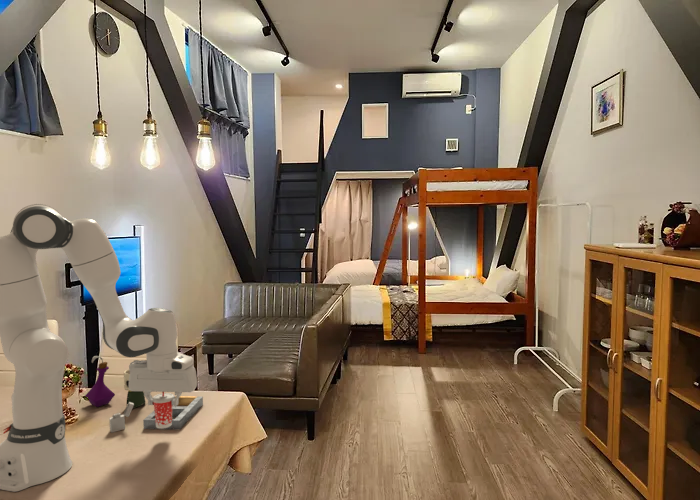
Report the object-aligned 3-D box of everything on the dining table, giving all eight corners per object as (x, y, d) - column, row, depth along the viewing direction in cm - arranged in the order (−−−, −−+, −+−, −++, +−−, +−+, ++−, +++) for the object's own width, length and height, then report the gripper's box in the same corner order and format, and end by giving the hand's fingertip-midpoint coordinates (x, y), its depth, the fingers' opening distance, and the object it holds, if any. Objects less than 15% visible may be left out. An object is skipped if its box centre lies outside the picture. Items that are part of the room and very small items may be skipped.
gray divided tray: (143, 428, 151) (143, 419, 151) (170, 404, 171) (170, 396, 170) (179, 429, 150) (179, 420, 150) (202, 404, 170) (202, 396, 170)
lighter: (111, 432, 148) (109, 408, 148) (109, 430, 150) (108, 406, 149) (135, 426, 153) (134, 402, 152) (133, 424, 154) (132, 400, 153)
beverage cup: (171, 429, 141) (170, 383, 140) (150, 430, 140) (149, 384, 139) (176, 420, 147) (175, 376, 146) (156, 421, 146) (155, 377, 145)
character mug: (120, 404, 171) (118, 369, 170) (140, 398, 176) (138, 365, 175) (131, 413, 163) (130, 376, 162) (152, 407, 168) (150, 371, 167)
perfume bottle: (105, 398, 176) (103, 351, 175) (115, 403, 172) (113, 355, 171) (84, 405, 170) (82, 356, 169) (94, 409, 166) (92, 360, 165)
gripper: (123, 363, 140) (125, 408, 141) (190, 364, 139) (191, 409, 140) (134, 357, 146) (135, 400, 147) (198, 358, 145) (199, 401, 146)
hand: (163, 404), depth 143 cm, fingers closed on beverage cup, 6 cm apart
